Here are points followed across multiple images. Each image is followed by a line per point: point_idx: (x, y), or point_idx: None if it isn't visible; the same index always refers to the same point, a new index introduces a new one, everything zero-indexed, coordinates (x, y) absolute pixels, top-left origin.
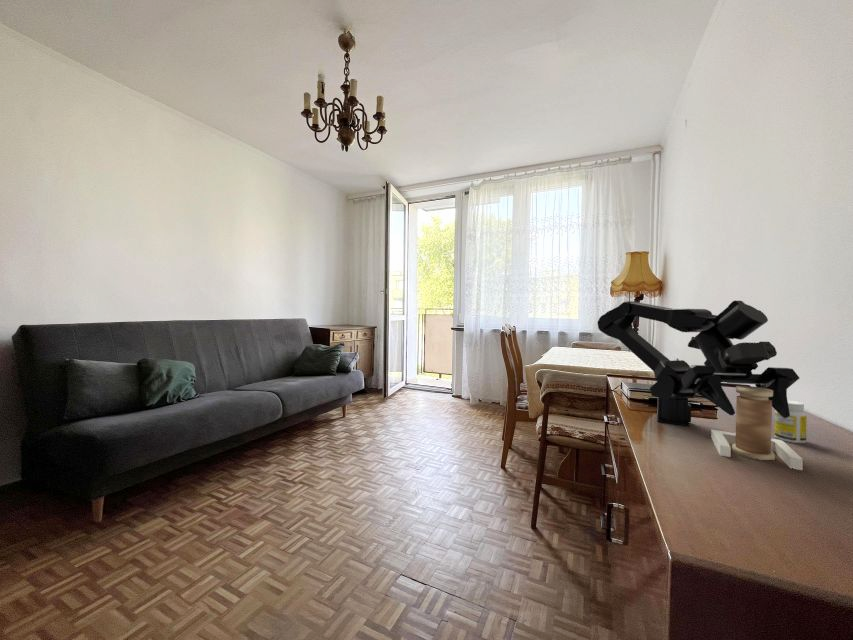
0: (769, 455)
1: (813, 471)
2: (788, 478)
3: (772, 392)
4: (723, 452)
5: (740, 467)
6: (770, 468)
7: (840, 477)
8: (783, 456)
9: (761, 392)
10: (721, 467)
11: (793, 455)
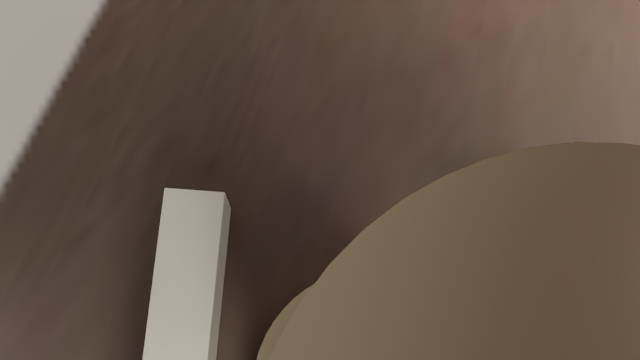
0: (304, 291)
1: (119, 226)
2: (300, 35)
3: (283, 335)
4: None
5: (486, 77)
6: (339, 147)
7: (16, 197)
8: (213, 344)
9: (535, 154)
10: (574, 26)
11: (190, 241)
